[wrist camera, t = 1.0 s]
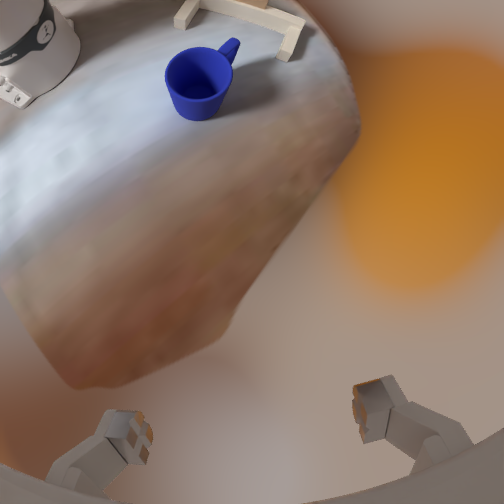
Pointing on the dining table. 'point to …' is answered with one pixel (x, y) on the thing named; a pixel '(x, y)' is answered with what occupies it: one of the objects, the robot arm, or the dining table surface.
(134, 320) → the dining table surface
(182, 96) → the mug
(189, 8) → the beige blocky open frame
